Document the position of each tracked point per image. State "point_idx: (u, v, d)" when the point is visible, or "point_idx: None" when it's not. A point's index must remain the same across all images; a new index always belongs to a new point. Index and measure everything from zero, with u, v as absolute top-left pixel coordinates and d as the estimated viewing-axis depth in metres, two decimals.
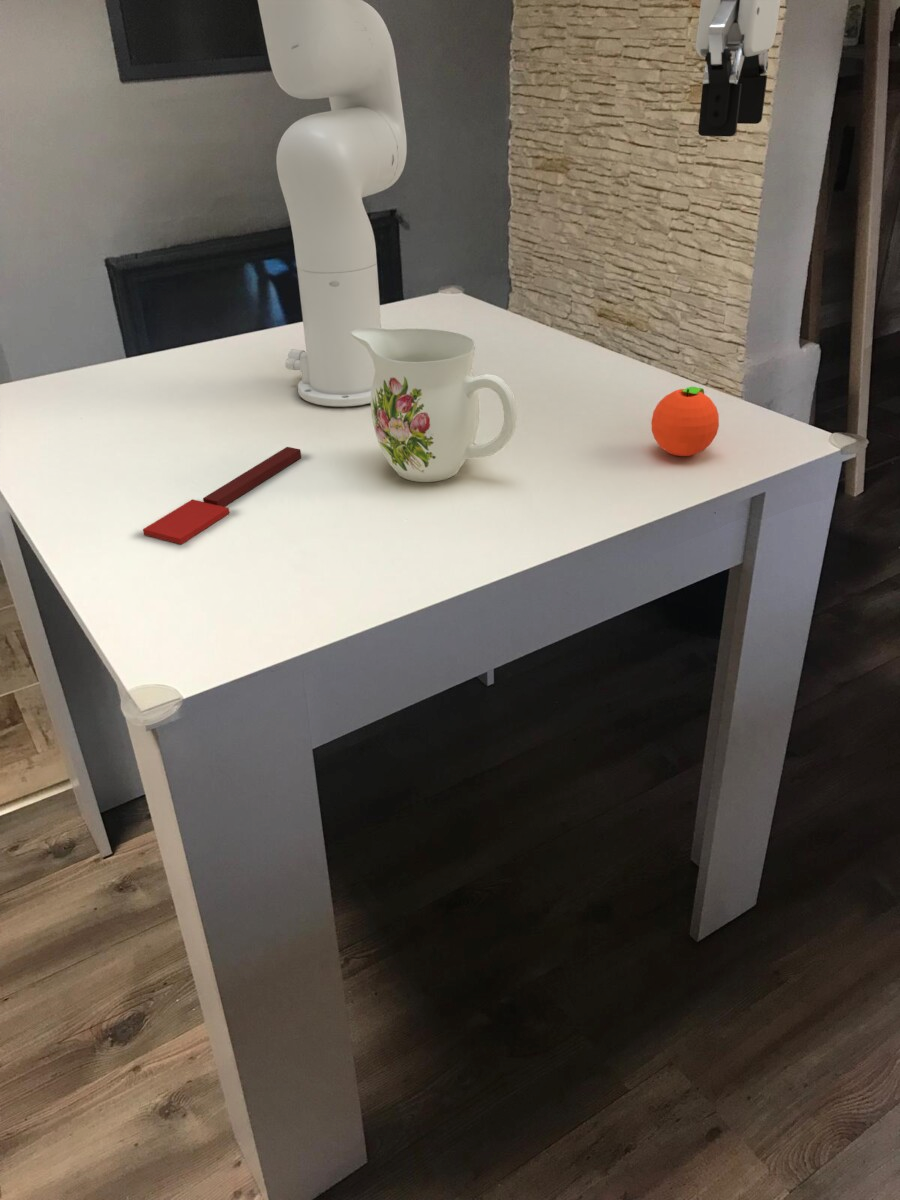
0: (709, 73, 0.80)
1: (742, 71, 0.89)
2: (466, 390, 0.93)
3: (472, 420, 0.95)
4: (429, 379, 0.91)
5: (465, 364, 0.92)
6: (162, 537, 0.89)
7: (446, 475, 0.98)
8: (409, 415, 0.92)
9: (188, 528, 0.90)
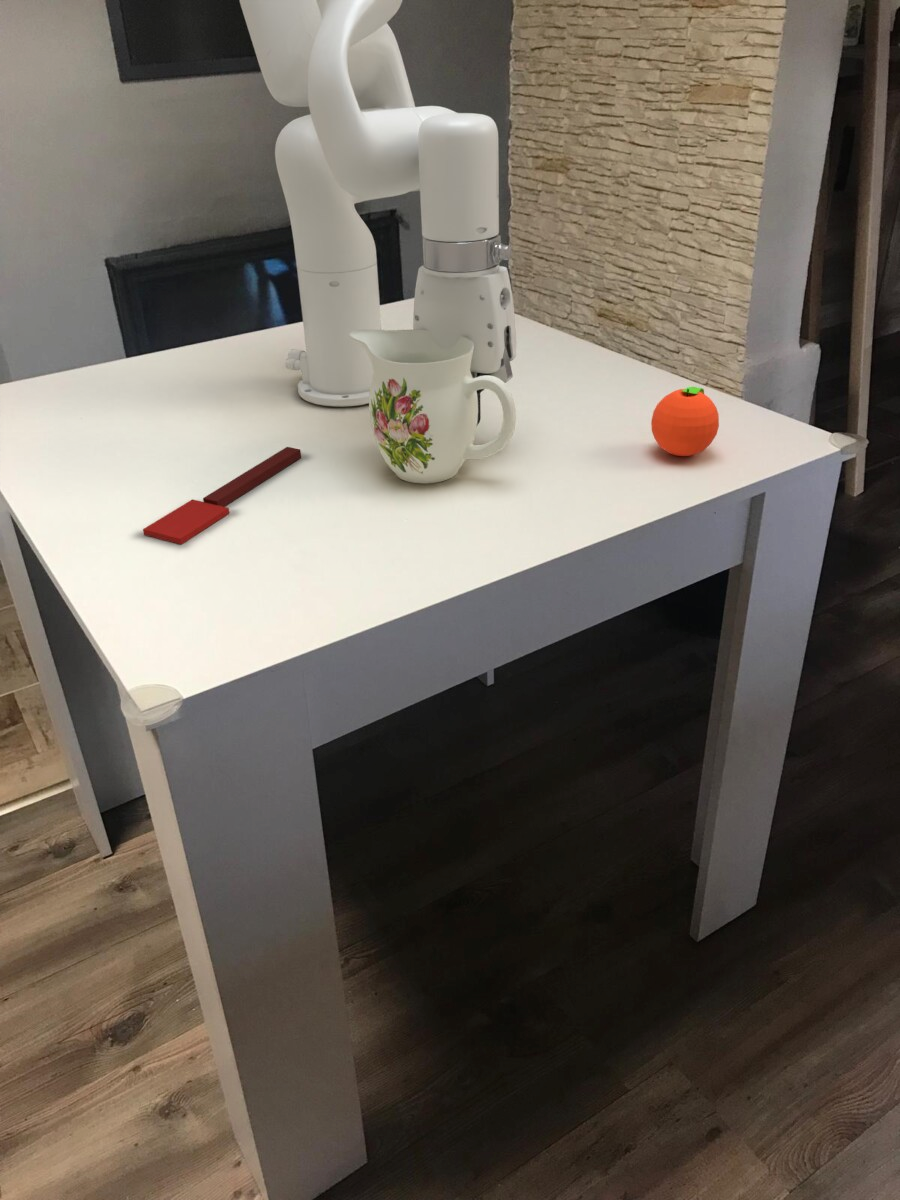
0: None
1: None
2: (465, 391, 0.93)
3: (471, 421, 0.95)
4: (429, 380, 0.91)
5: (464, 365, 0.92)
6: (162, 537, 0.89)
7: (445, 476, 0.98)
8: (409, 417, 0.92)
9: (188, 528, 0.90)
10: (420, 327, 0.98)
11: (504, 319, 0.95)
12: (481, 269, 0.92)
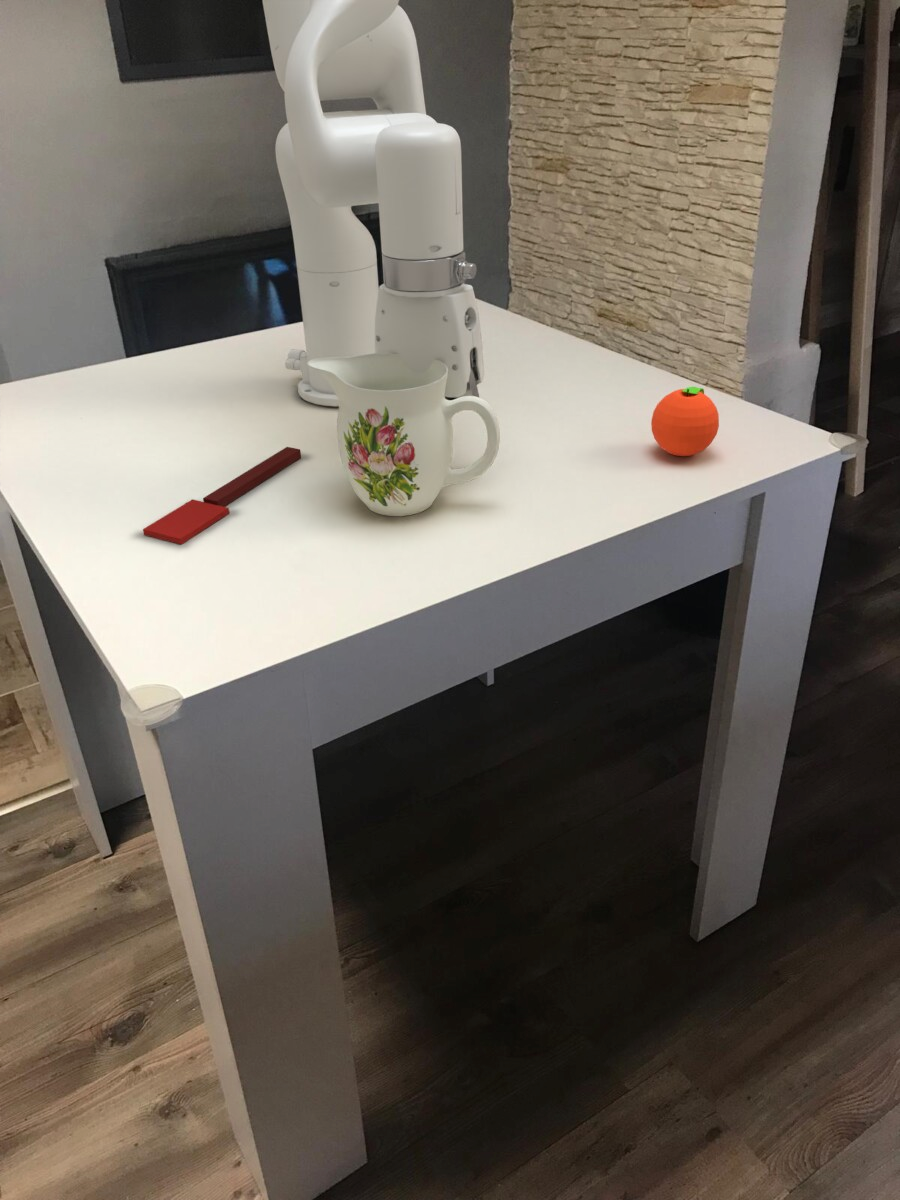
0: None
1: None
2: (445, 414, 0.88)
3: (451, 445, 0.90)
4: (412, 407, 0.85)
5: (443, 387, 0.87)
6: (162, 537, 0.89)
7: (426, 506, 0.92)
8: (393, 447, 0.86)
9: (188, 528, 0.90)
10: (382, 349, 0.93)
11: (469, 341, 0.90)
12: (444, 288, 0.87)
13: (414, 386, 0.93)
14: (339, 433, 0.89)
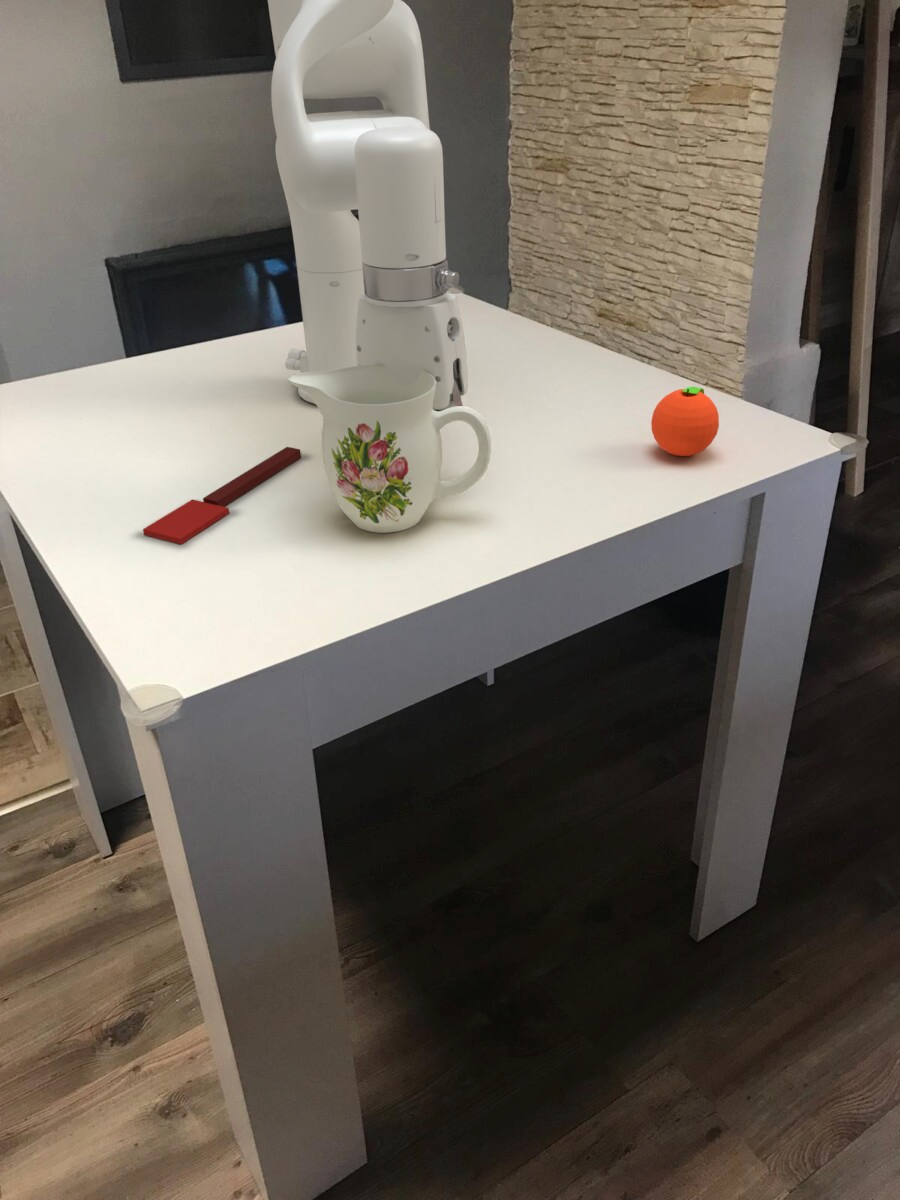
0: None
1: None
2: (435, 426, 0.86)
3: (441, 457, 0.88)
4: (404, 420, 0.82)
5: (432, 398, 0.85)
6: (162, 537, 0.89)
7: (417, 520, 0.90)
8: (385, 462, 0.83)
9: (188, 528, 0.90)
10: (363, 359, 0.90)
11: (453, 351, 0.87)
12: (426, 298, 0.84)
13: (396, 398, 0.90)
14: (326, 450, 0.86)
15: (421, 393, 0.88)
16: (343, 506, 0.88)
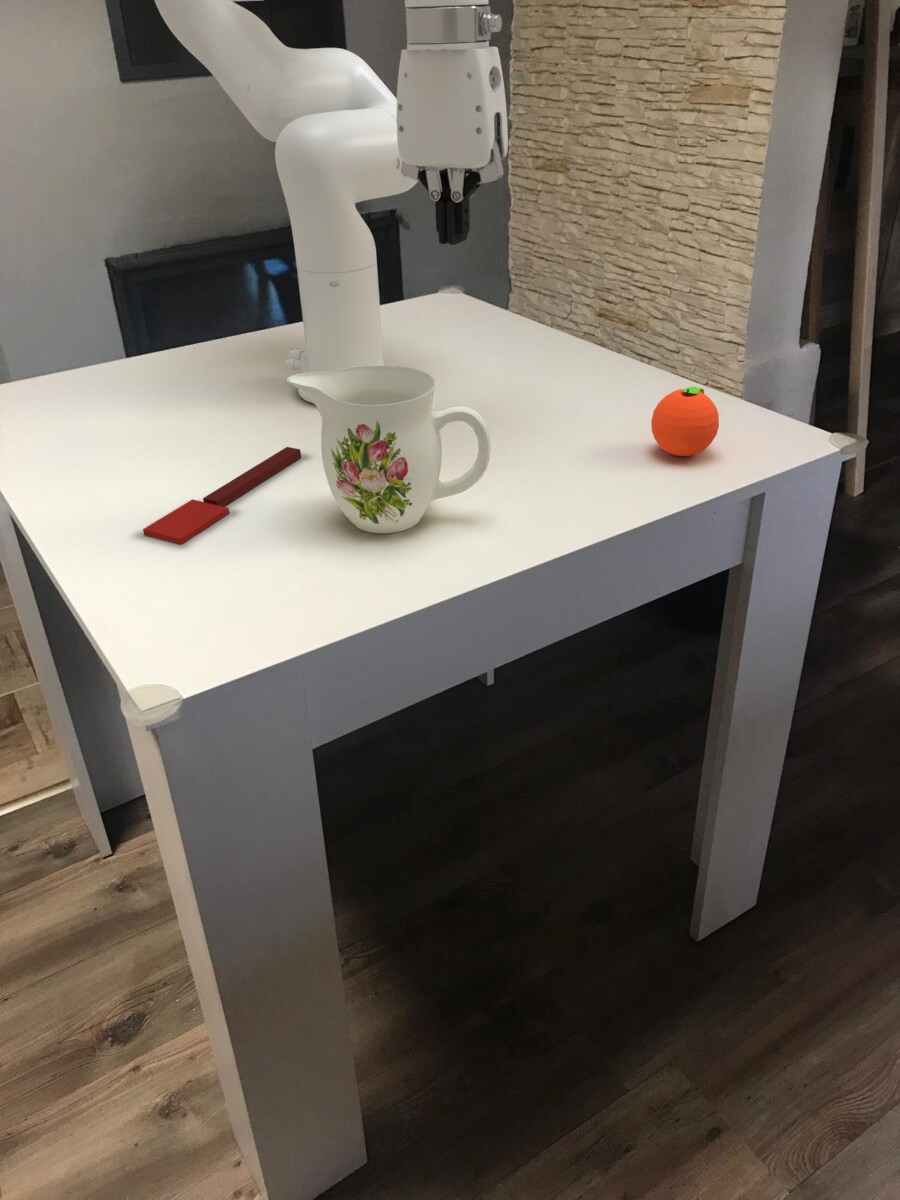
0: None
1: None
2: (435, 426, 0.86)
3: None
4: (404, 420, 0.82)
5: (432, 399, 0.85)
6: (162, 537, 0.89)
7: (416, 521, 0.90)
8: (385, 463, 0.83)
9: (188, 528, 0.90)
10: (404, 119, 0.91)
11: (494, 103, 0.88)
12: (469, 41, 0.85)
13: (395, 398, 0.90)
14: (325, 451, 0.85)
15: (420, 393, 0.88)
16: (343, 507, 0.88)
